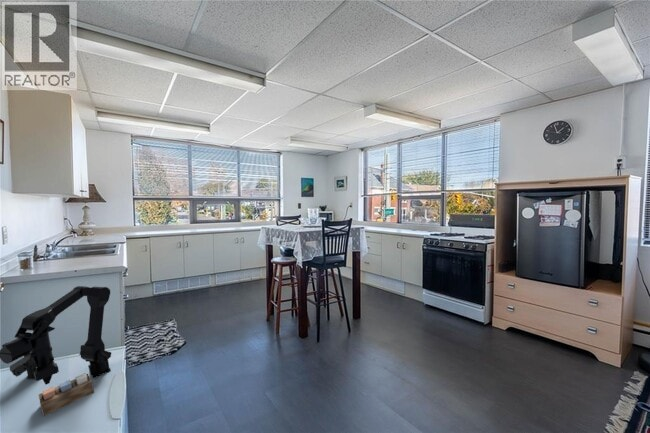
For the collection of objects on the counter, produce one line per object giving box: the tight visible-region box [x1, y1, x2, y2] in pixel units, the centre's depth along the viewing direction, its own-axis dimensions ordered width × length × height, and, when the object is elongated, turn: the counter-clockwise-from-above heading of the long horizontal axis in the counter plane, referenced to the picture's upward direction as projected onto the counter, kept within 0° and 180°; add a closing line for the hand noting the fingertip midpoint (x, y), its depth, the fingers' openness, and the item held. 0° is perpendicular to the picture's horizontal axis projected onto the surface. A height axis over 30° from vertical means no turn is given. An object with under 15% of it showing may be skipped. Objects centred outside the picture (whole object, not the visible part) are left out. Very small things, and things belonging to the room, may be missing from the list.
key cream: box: [74, 373, 88, 386], centre depth 121 cm, size 3×3×4 cm
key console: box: [38, 373, 95, 417], centre depth 118 cm, size 15×8×5 cm, turn 140°
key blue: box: [58, 379, 72, 393], centre depth 118 cm, size 3×3×4 cm
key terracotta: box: [41, 386, 55, 400], centre depth 114 cm, size 3×3×4 cm
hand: (47, 383), depth 113 cm, fingers closed
